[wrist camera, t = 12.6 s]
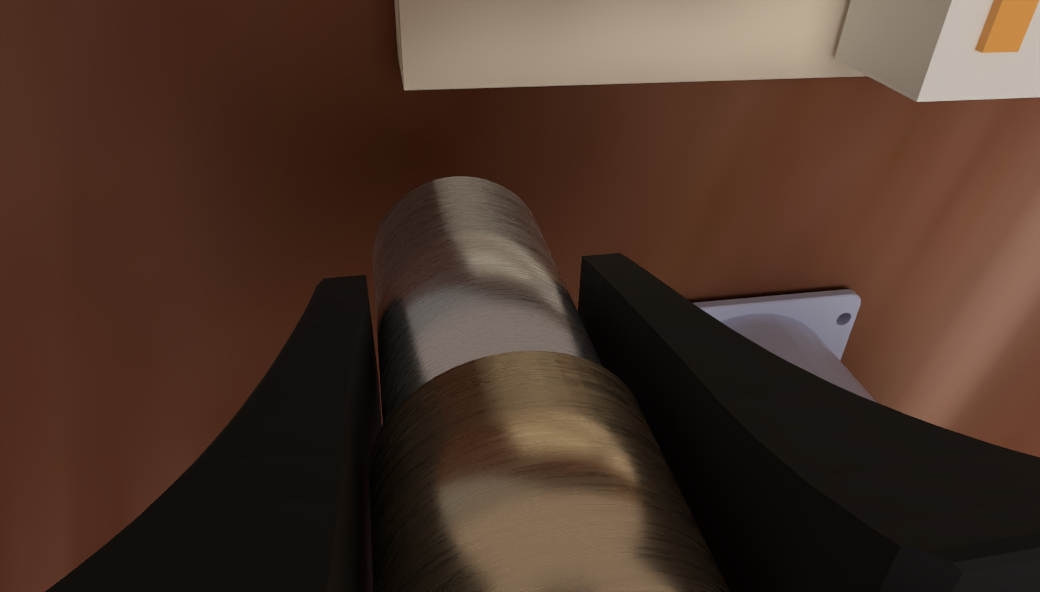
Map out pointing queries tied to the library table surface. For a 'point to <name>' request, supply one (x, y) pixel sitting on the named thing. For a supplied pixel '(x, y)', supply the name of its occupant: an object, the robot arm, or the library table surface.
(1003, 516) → the robot arm
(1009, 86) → the finder
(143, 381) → the library table surface
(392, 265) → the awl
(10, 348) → the library table surface
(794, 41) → the board
